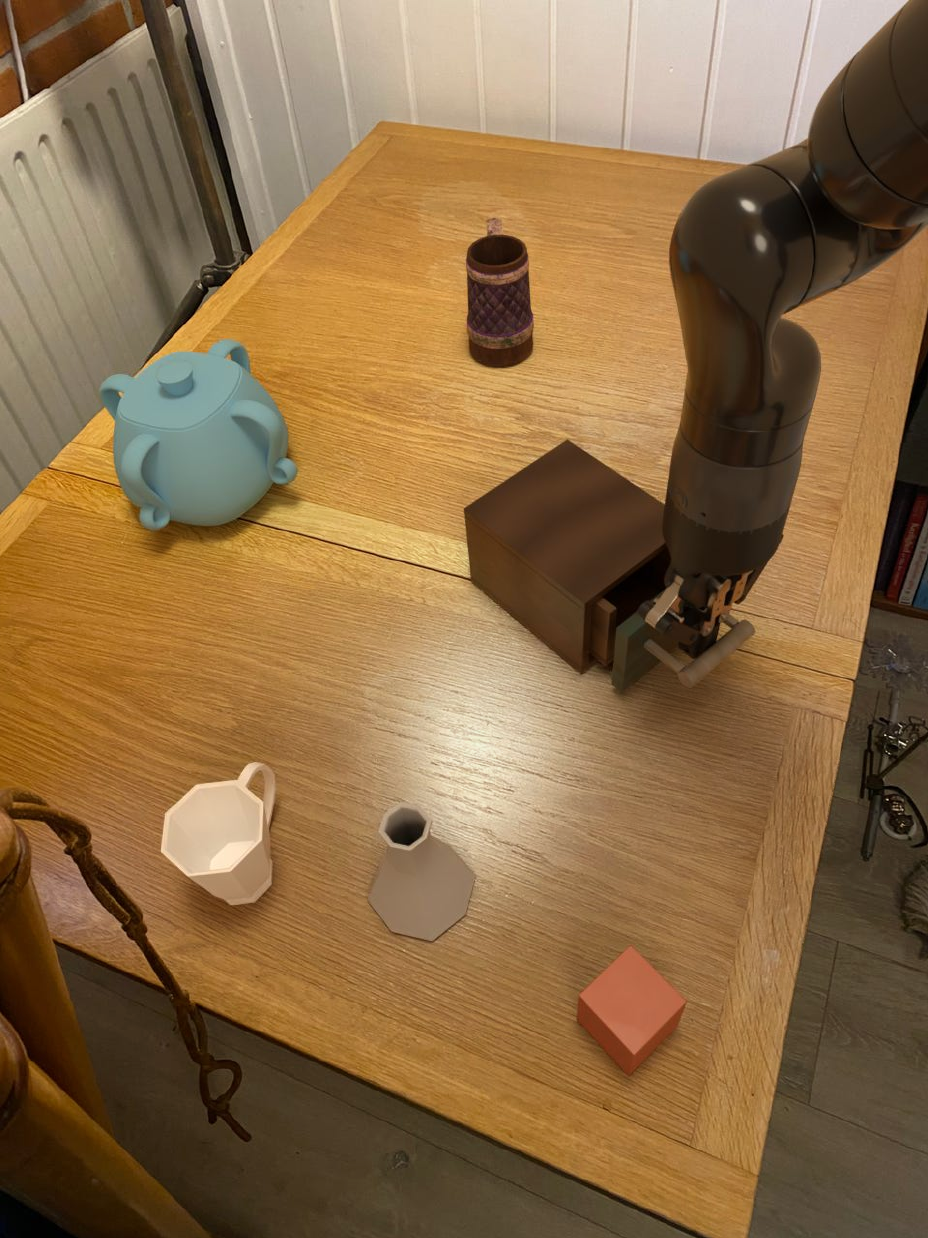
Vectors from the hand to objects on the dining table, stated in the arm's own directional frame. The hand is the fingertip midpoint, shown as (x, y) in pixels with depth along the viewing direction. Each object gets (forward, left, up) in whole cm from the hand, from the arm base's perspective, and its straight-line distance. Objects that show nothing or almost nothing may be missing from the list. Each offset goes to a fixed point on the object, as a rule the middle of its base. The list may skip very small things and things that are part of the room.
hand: (696, 649), depth 72 cm
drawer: (+6, -2, -3) cm, 7 cm away
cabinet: (+12, -4, -4) cm, 14 cm away
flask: (+9, +25, -4) cm, 27 cm away
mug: (+35, -32, -4) cm, 48 cm away
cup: (+21, +29, -4) cm, 36 cm away
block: (-7, +26, -4) cm, 27 cm away
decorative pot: (+49, 0, -4) cm, 50 cm away
